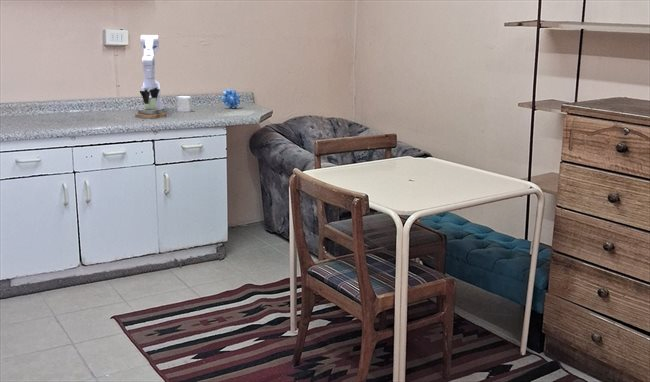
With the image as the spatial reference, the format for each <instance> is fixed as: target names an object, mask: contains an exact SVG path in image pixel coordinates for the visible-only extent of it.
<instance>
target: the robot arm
mask: <svg viewBox="0 0 650 382" xmlns="http://www.w3.org/2000/svg"><path fill="white" fill-rule="evenodd" d="M159 38H160V37H159V35H158V34H141V35H140V46H141V50H142V51H143V56H142V57H141V64H142V70H143V83H142V86H141V87H140V90H139V93H140V95H141V96H142V101H143V103H145V104H148V103H149V98H156V108H161V109H164V108H163V99H162V98H161V97H160V96H161V84H160V82H159V81H158V80H156V67H155V65H156V64H155V63H156V60H155V59H156V58H155V56H156V52H158V51H159V49H160V48H159V47H160V44H159V43H160V41H159V40H160V39H159ZM145 104H144V105H145Z"/></svg>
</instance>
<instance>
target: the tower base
mask: <svg viewBox="0 0 650 382" xmlns="http://www.w3.org/2000/svg"><path fill="white" fill-rule="evenodd" d="M134 117H135V118H137V119H138V118H140V119H147V118H149V119H148V120H154V118H155V119H159V118H160V117H161V118H165V117H167V112H164V113H163V114H157V115H144V114H138V113H135V114H134Z"/></svg>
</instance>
